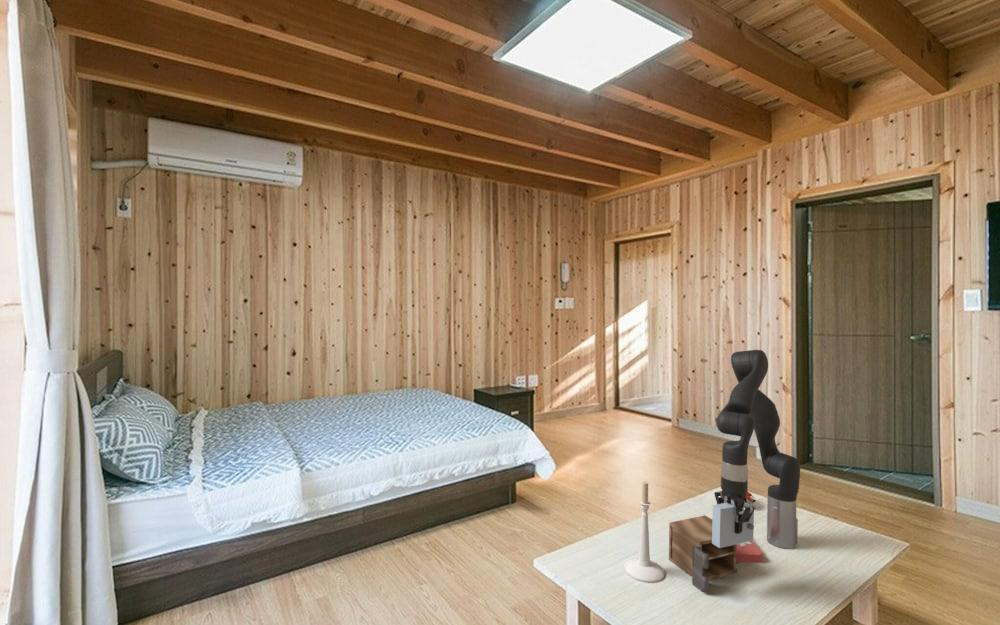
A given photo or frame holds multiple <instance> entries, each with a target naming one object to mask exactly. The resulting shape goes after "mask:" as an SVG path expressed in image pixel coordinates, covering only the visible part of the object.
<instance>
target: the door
mask: <svg viewBox="0 0 1000 625" xmlns="http://www.w3.org/2000/svg"><path fill="white" fill-rule="evenodd" d="M747 503H748V504H749V505H750V506H753V507H754V508H755V503H753V502H751V501H749V500H747ZM737 511H740V510H737ZM754 515H755V511H754V512H753V514H752V516H751V518H750V520H749V522H744V523H743V526H742V532H741V533H740V534H736V533H735V532H734V528H735V515H734V514H733V506H732V505H731V504H729V503H728V504H727V503H723V504H722V503H721V504H717V503H716V504H713V505H712V518H711V519H712V544H714V545H715V546H717V547H718V548H723V547H727V546H731V545H736V544H740V543H744V542H749V541H753V542H754V530H755V529H754V528H755V525H754V522H755V520H754V518H755V516H754Z"/></svg>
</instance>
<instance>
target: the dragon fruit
mask: <svg viewBox="0 0 1000 625" xmlns="http://www.w3.org/2000/svg"><path fill="white" fill-rule="evenodd" d="M746 499H747V500H749V501H751V502H753V503H754V504H755V503H756V499H755V497H753V494H752V493H750V492H749V491H748V492H747V494H746Z"/></svg>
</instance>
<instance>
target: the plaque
mask: <svg viewBox="0 0 1000 625" xmlns="http://www.w3.org/2000/svg"><path fill="white" fill-rule="evenodd" d="M736 562H741V563H742V562H743V563H744V562H745V563H758V564H759V563H762V562H763V552H762V550H760V548H759V547H758V545H756V543H755V542H754V540H753V541H749V542H744V543H740V544H736Z"/></svg>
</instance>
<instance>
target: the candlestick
mask: <svg viewBox="0 0 1000 625" xmlns="http://www.w3.org/2000/svg"><path fill="white" fill-rule="evenodd" d="M639 504H640V508H641V510H642V512H641V518H640V519H641V520H640V533H639V534H640V535H639V546H638V548H639V549H638V551H639V552H638V557H636V558H635V557H634V558H632V559H629V560H627V561H626V562H625V563H624V564H623V570H624V572H625V574H626V575H627V576H628V577H630V578H631V579H633V580H636V581H637V582H638V581H639V582H643V583H648V584H651V583H653V584H654V583H659V582H661V581H663V580H664V578H665V576H666V575H665V574H666V573H665V570H664V568H663V567H662V565H660V564H658V563H657V562H656V561H653V560H651V558H650V533H649V514H648V510H649V509H650V506H651V502H650V501H649V482H648V481H642V482H641V500H639Z"/></svg>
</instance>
